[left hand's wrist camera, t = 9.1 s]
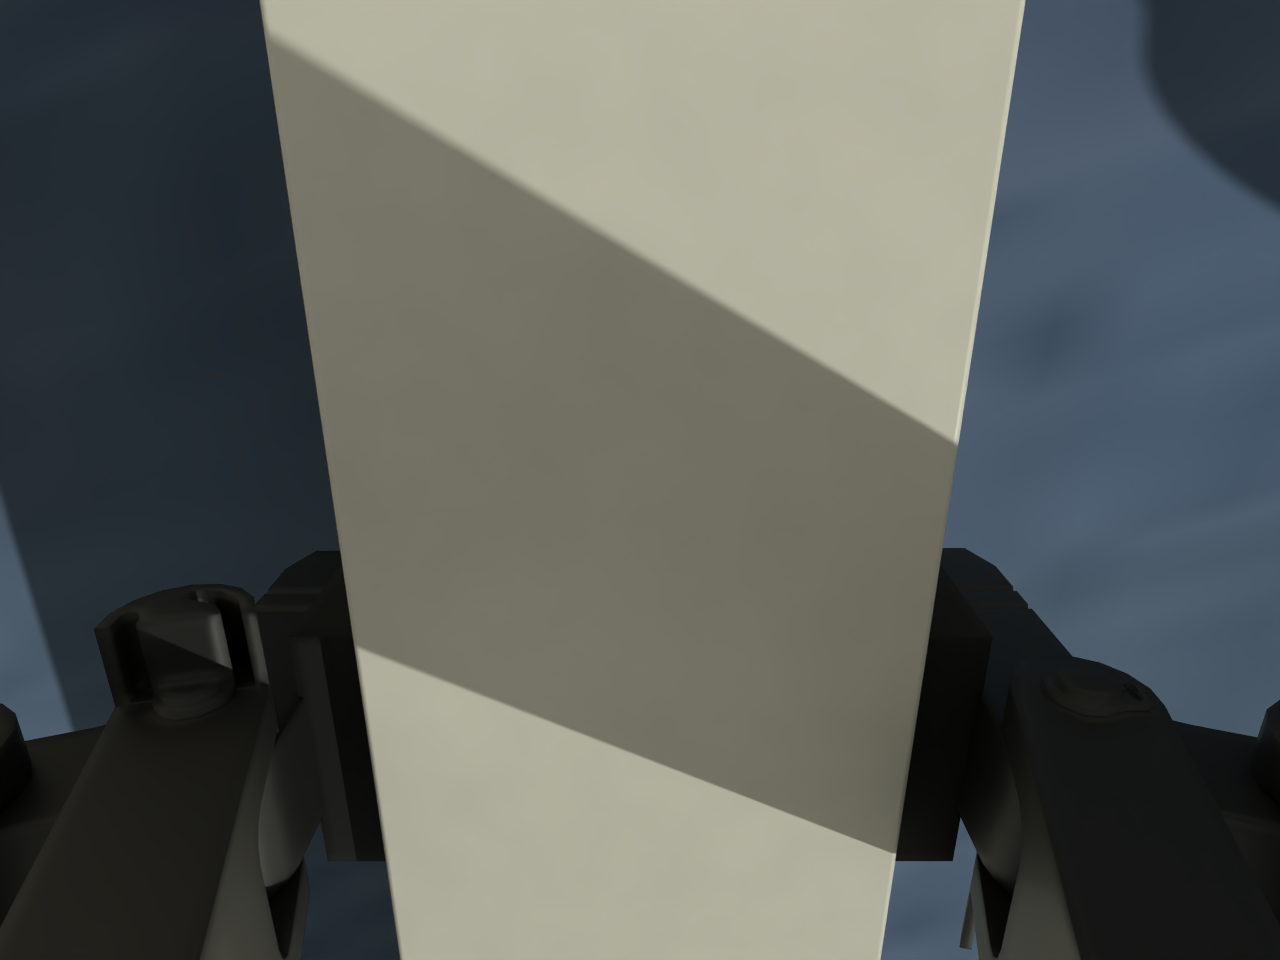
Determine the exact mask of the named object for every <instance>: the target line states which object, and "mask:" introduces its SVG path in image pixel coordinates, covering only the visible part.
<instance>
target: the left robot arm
mask: <svg viewBox="0 0 1280 960" xmlns="http://www.w3.org/2000/svg"><path fill="white" fill-rule="evenodd" d="M94 631H95V635H96V638H97V642H98V645H99V649H100V653H101V656H102V660H103V663H104V667H105V671H106V674H107V678H108V681H109V685H110V689H111V692H112V696H113V699H114V703H115V709H114V711H113V712H112V714H111V716H110V718H109V720H108V722H107V724H106V725H103V726H99V727H95V728H90V729H85V730H80V731H75V732H70V733H64V734H59V735H54V736H49V737H43V738H38V739H33V740H28V741H24V738H23V735H22V732H21V729H20V726H19V723H18V720H17V717H16V714H15V713H14V712H13V711H11V710H10V709H9V708H7V707H6V706H5V705H3V704H0V960H301V956H302V949H303V941H304V933H305V925H306V918H307V910H308V902H309V895H310V890H309V883H308V876H307V871H306V865H305V860H304V854H305V852H306V850H307V848H308V845H309V843H310V841H311V839H312V837H313V835H314V833H315V831H316V829H317V827H318V824H319V822H320V820H321V825H322V830H323V836H324V841H325V847H326V852H327V858H328V861H386V859H385V852H384V845H383V838H382V832H381V825H380V818H379V811H378V804H377V797H376V791H375V784H374V777H373V770H372V763H371V757H370V750H369V743H368V736H367V729H366V722H365V716H364V709H363V702H362V695H361V688H360V682H359V675H358V668H357V661H356V654H355V647H354V641H353V634H352V627H351V620H350V613H349V607H348V600H347V593H346V586H345V579H344V572H343V566H342V559H341V552H340V551H315V552H314V553H312V554H310V555H309V556H307V557H305V558H304V559H302V560H300V561H298V562H297V563H295V564H293V565H292V566H290V567H288V568H287V569H285V570H284V572H283V573H282V574H281V575H280V576H279V578H278V579H277V580H276V581H275V582H274V583H273V585H272V586H271V587H270V588H269V589H268V594H264V595H263V596H262V598H261V599H260V600H259V601H258V602H257V604H256V605H255V601H254V597H253V596H252V595H250V594H249V593H247V592H246V591H245V590H243V589H242V588H238V587H233V586H228V585H223V584H202V585H189V586H184V587H178V588H173V589H168V590H163V591H160V592H157V593H154V594H151V595H148V596H145V597H142V598H140V599H137V600H134V601H132V602H130V603H128V604H126V605H125V606H123V607H121V608H119V609H117V610H116V611H114V612H112V613H110V614H109V615H108V616H107V617H106V618H105V619H104V620H103V621H102V622H101V623H100V624H98V625H97V626H96V627H95V628H94ZM960 817H961V819H962V821H963V823H964V825H965V827H966V829H967V831H968V833H969V836H970V838H971V840H972V842H973V844H974V846H975V848H976V850H977V855H976V860H975V865H974V871H973V876H972V881H971V886H970V891H969V896H968V902H967V907H966V912H965V917H964V922H963V927H962V934H961V941H960V948H965V949H970V950H971V948H972V943H973V938H974V933H975V931H976V939H977V947H978V954H979V960H1280V700H1279V701H1278V702H1276V703H1275V704H1274V705H1272V706H1271V707H1270V708H1268V709H1267V711H1266V714H1265V717H1264V720H1263V723H1262V726H1261V729H1260V732H1259V735H1258V738H1257V737H1252V736H1247V735H1242V734H1236V733H1231V732H1226V731H1221V730H1215V729H1210V728H1205V727H1200V726H1194V725H1189V724H1185V723H1181V722H1177V721H1173V720H1172V719H1171V717H1170V715H1169V713H1168V711H1167V709H1166V707H1165V705H1164V704H1163V703H1162V702H1161V701H1160V699H1159V698H1158V697H1157V696H1156V695H1155V694H1154V692H1153V691H1152V690H1151V689H1150V688H1148V687H1147V686H1145V685H1144V684H1142V683H1141V682H1139V681H1138V680H1136V679H1135V678H1133V677H1132V676H1130V675H1129V674H1127V673H1124V672H1122V671H1119V670H1117V669H1114V668H1112V667H1109V666H1107V665H1105V664H1102V663H1099V662H1095V661H1090V660H1086V659H1081V658H1077V657H1072V655H1071V654H1070V653H1069V652H1068V651H1067V650H1066V648H1065V647H1064V646H1063V645H1062V644H1061V642H1060V641H1059V640H1058V639H1057V638H1056V637H1055V635H1054V634H1053V633H1052V632H1051V631H1050V630H1049V628H1048V627H1047V626H1046V625H1045V624H1044V623H1043V621H1042V620H1041V619H1040V618H1039V617H1038V616H1037V614H1036V613H1035V612H1034V611H1033V610H1032V609H1028V604H1027V603H1026V601H1025V600H1024V599H1023V598H1022V597H1021V596H1020V594H1019V593H1018V592H1017V591H1013V586H1012V585H1011V584H1010V583H1009V582H1008V580H1007V579H1006V578H1005V577H1004V576H1003V574H1002V573H1001V572H1000V571H999V570H998V569H997V567H996V566H994V565H993V564H991V563H989V562H987V561H986V560H984V559H982V558H981V557H979V556H977V555H975V554H974V553H972V552H970V551H969V550H967V549H965V548H942V555H941V561H940V568H939V574H938V581H937V588H936V594H935V601H934V607H933V614H932V621H931V627H930V634H929V640H928V647H927V654H926V660H925V667H924V673H923V680H922V687H921V693H920V700H919V707H918V713H917V720H916V726H915V733H914V740H913V746H912V753H911V759H910V766H909V773H908V779H907V786H906V792H905V799H904V806H903V812H902V819H901V826H900V832H899V839H898V845H897V852H896V859H895V861H953V856H954V850H955V845H956V839H957V834H958V828H959V823H960Z"/></svg>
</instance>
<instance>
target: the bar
mask: <svg viewBox="0 0 1280 960" xmlns="http://www.w3.org/2000/svg"><path fill="white" fill-rule="evenodd" d="M260 6H261V13H262V20H263V27H264V34H265V41H266V47H267V54H268V61H269V68H270V75H271V81H272V88H273V95H274V102H275V109H276V116H277V122H278V129H279V136H280V143H281V150H282V156H283V163H284V170H285V177H286V184H287V191H288V197H289V204H290V211H291V218H292V225H293V231H294V238H295V245H296V252H297V259H298V266H299V272H300V279H301V286H302V293H303V300H304V306H305V313H306V320H307V327H308V334H309V341H310V347H311V354H312V361H313V368H314V375H315V381H316V388H317V395H318V402H319V409H320V416H321V422H322V429H323V436H324V443H325V450H326V457H327V463H328V470H329V477H330V484H331V491H332V497H333V504H334V511H335V518H336V525H337V532H338V538H339V545H340V552H341V559H342V566H343V572H344V579H345V586H346V593H347V600H348V607H349V613H350V620H351V627H352V634H353V641H354V647H355V654H356V661H357V668H358V675H359V682H360V688H361V695H362V702H363V709H364V716H365V722H366V729H367V736H368V743H369V750H370V757H371V763H372V770H373V777H374V784H375V791H376V797H377V804H378V811H379V818H380V825H381V832H382V838H383V845H384V852H385V859H386V866H387V872H388V879H389V886H390V893H391V900H392V907H393V913H394V920H395V927H396V934H397V941H398V947H399V954H400V960H880V958H881V951H882V944H883V938H884V931H885V925H886V918H887V911H888V905H889V898H890V892H891V885H892V878H893V872H894V865H895V859H896V852H897V845H898V839H899V832H900V826H901V819H902V812H903V806H904V799H905V792H906V786H907V779H908V773H909V766H910V759H911V753H912V746H913V740H914V733H915V726H916V720H917V713H918V707H919V700H920V693H921V687H922V680H923V673H924V667H925V660H926V654H927V647H928V640H929V634H930V627H931V621H932V614H933V607H934V601H935V594H936V588H937V581H938V574H939V568H940V561H941V555H942V548H943V541H944V535H945V528H946V521H947V515H948V508H949V502H950V495H951V488H952V482H953V475H954V469H955V462H956V455H957V449H958V442H959V436H960V429H961V422H962V416H963V409H964V403H965V396H966V389H967V383H968V376H969V369H970V363H971V356H972V350H973V343H974V336H975V330H976V323H977V317H978V310H979V303H980V297H981V290H982V284H983V277H984V270H985V264H986V257H987V250H988V244H989V237H990V231H991V224H992V217H993V211H994V204H995V198H996V191H997V184H998V178H999V171H1000V165H1001V158H1002V151H1003V145H1004V138H1005V132H1006V125H1007V118H1008V112H1009V105H1010V98H1011V92H1012V85H1013V79H1014V72H1015V65H1016V59H1017V52H1018V46H1019V39H1020V32H1021V26H1022V19H1023V13H1024V6H1025V0H260Z"/></svg>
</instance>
